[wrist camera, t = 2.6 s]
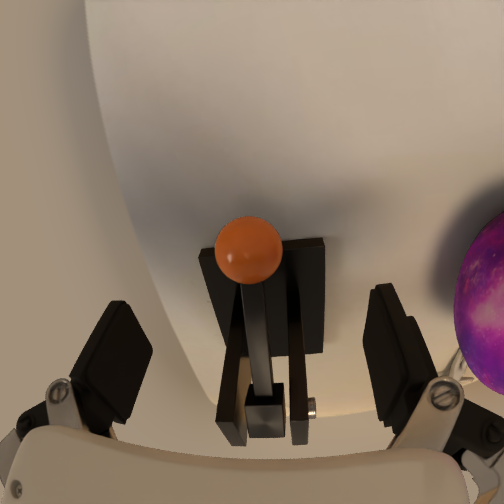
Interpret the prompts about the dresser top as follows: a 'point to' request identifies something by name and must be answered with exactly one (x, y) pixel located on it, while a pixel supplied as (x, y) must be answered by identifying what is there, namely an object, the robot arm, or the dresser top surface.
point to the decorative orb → (483, 306)
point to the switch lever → (255, 315)
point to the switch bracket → (271, 332)
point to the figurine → (459, 369)
